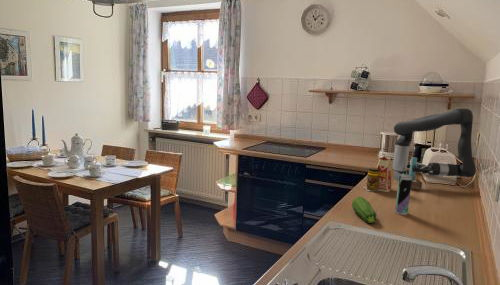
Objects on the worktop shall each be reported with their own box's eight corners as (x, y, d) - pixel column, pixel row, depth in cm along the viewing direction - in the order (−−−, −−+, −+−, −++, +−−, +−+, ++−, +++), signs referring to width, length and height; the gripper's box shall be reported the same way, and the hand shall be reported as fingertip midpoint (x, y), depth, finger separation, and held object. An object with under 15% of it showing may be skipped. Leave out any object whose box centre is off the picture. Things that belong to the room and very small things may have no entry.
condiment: (368, 191, 209) (370, 170, 207) (362, 186, 218) (364, 166, 216) (381, 191, 210) (383, 170, 208) (375, 187, 218) (377, 166, 216)
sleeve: (393, 177, 242) (394, 170, 241) (403, 178, 242) (404, 171, 241) (400, 182, 231) (400, 175, 231) (410, 182, 231) (411, 175, 231)
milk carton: (387, 192, 209) (392, 156, 206) (370, 189, 214) (374, 153, 211) (391, 188, 217) (395, 154, 214) (375, 185, 222) (379, 151, 218)
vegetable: (362, 192, 178) (378, 207, 158) (367, 205, 179) (384, 222, 160) (347, 198, 178) (361, 214, 159) (353, 212, 180) (367, 229, 160)
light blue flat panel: (401, 179, 234) (404, 153, 231) (406, 179, 234) (409, 154, 231) (411, 186, 219) (414, 159, 216) (416, 186, 219) (420, 159, 216)
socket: (405, 186, 223) (406, 178, 222) (416, 187, 223) (417, 179, 222) (409, 189, 217) (410, 181, 216) (421, 190, 217) (422, 182, 216)
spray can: (401, 215, 174) (406, 172, 170) (392, 211, 179) (397, 169, 175) (410, 214, 176) (415, 172, 173) (401, 210, 181) (406, 169, 177)
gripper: (433, 160, 228) (405, 158, 228) (444, 165, 214) (415, 164, 214) (431, 172, 229) (404, 171, 229) (442, 178, 215) (413, 177, 215)
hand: (409, 167), depth 221 cm, fingers open, 8 cm apart
